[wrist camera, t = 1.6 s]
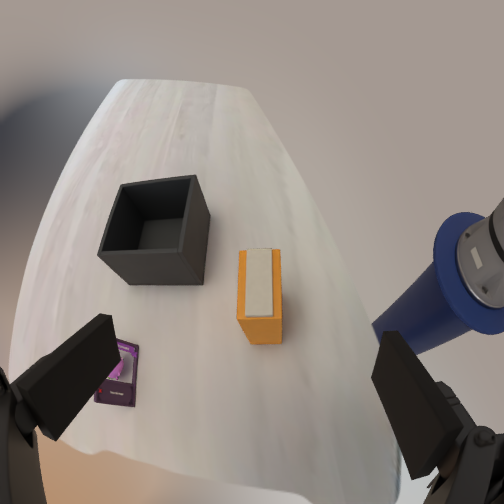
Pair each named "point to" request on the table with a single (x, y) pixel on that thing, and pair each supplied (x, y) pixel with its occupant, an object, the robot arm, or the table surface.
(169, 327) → the table surface
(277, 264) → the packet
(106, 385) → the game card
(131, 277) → the bin
